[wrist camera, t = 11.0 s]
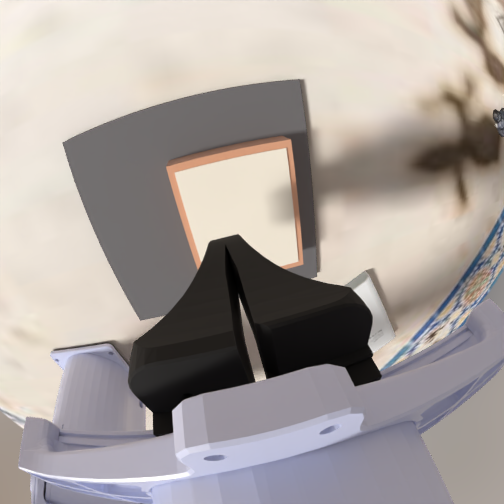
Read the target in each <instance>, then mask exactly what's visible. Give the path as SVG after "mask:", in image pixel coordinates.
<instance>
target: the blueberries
mask: <svg viewBox="0 0 504 504" xmlns="http://www.w3.org/2000/svg"><path fill="white" fill-rule="evenodd" d="M503 96H504V94H503ZM493 119H494V121H495V125H496V128H497V130H498V133H499V135H501V136H503V137H504V108H502V109H501V110H500V111H497V110H496V109H495V110H494V111H493Z"/></svg>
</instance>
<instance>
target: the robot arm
mask: <svg viewBox="0 0 504 504" xmlns="http://www.w3.org/2000/svg"><path fill="white" fill-rule="evenodd" d="M238 295H239V296H238ZM239 297H240V300H241V303H242V305H243V308H244V310H245V313H246V316H247V318H248V321H249V323H250V326H251V328H252V331H253V334H254V337H255V340H256V343H257V347H258V350H259V354H260V357H261V361H262V364H263V368H264V372H265V375H266V380H262V381H258V382H255V378H254V374H253V371H252V367H251V363H250V359H249V355H248V351H247V348H246V344H245V339H244V333H243V326H242V318H241V311H240V303H239ZM372 324H373V316H372V313H371V311H370V309H369V308H368V307H367V305H366V304H365V303H364V301H363V300H362V299H361V298H360V297H359V296H358V295H357V294H356V293H355V292H354V291H353V289H352V288H351V287H346V286H340V285H334V284H328V283H323V282H320V281H316V280H312V279H309V278H306V277H303V276H300V275H297V274H295V273H292V272H290V271H288V270H286V269H284V268H282V267H280V266H278V265H276V264H274V263H273V262H271V261H270V260H268V259H267V258H265V257H264V256H263V255H261V254H260V253H259V252H257V251H256V250H255V249H254V248H253V247H251V246H250V245H249V244H248V243H247V242H246V241H245V240H244V239H243V238H242V237H241V236H240V235H239V234H236V235H232V236H228V237H224V238H220V239H216V240H212V241H210V242H209V243H208V246H207V250H206V252H205V255H204V258H203V260H202V262H201V265H200V267H199V269H198V271H197V273H196V275H195V277H194V279H193V281H192V282H191V284H190V286H189V287H188V289H187V290H186V292H185V293H184V295H183V296H182V297H181V299H180V300H179V301H178V302H177V303H176V305H175V306H174V307H173V308H172V309H171V310H170V312H169V313H168V314H167V315H166V316H165V317H164V318H163V319H162V320H160V321H159V322H158V323H157V324H156V325H155V326H154V327H153V328H152V329H150V330H149V331H148V332H147V333H145V334H144V335H143V336H141V337H140V338H139V339H138V340H136V341H135V342H134V345H133V349H132V353H131V358H130V365H129V366H128V364H127V363H126V362H125V361H124V359H123V358H122V357H121V356H120V354H119V353H118V352H117V351H116V349H115V348H114V347H113V346H112V345H111V344H100V345H94V346H87V347H80V348H73V349H66V350H58V351H51V353H50V356H51V358H52V359H53V360H54V361H55V362H56V363H57V364H58V365H59V366H60V367H61V368H62V369H63V370H64V371H63V375H62V379H61V383H60V387H59V391H58V395H57V400H56V405H55V410H54V415H53V420H52V422H50V421H48V420H46V419H42V418H35V417H26V421H25V426H24V431H23V437H22V443H21V449H20V456H19V466H18V467H19V468H20V469H21V470H23V471H25V472H28V473H29V474H31V483H30V491H31V492H32V493H31V495H32V496H31V504H454V503H453V501H452V498H451V496H450V494H449V492H448V490H447V487H446V485H445V483H444V481H443V479H442V477H441V475H440V473H439V471H438V469H437V467H436V465H435V463H434V461H433V459H432V457H431V455H430V453H429V451H428V449H427V447H426V445H425V443H424V441H423V439H422V437H421V434H422V433H424V432H425V431H427V430H428V429H430V428H431V427H432V426H434V425H435V424H437V423H438V422H439V421H441V420H442V419H444V418H445V417H446V416H448V415H449V414H450V413H452V412H453V411H454V410H455V409H457V408H458V407H459V406H460V405H462V404H463V403H464V402H465V401H467V400H468V399H469V398H470V397H471V396H472V395H474V394H475V393H476V392H477V391H478V390H479V389H481V388H482V387H483V386H484V385H485V384H486V383H487V382H488V381H490V380H491V379H492V378H493V377H494V376H495V375H496V374H497V373H498V372H499V370H500V369H501V368H502V367H503V365H504V312H503V311H502V310H501V309H500V308H499V307H498V306H497V305H496V304H495V303H494V302H493V301H492V300H491V299H490V298H489V299H487V300H485V301H484V302H482V303H481V304H480V305H478V306H477V307H475V308H474V309H473V310H472V312H471V313H470V315H469V316H468V319H467V321H466V324H465V325H464V326H462V327H461V328H459V329H458V330H456V331H454V332H453V333H451V334H450V335H448V336H446V337H445V338H443V339H442V340H440V341H438V342H436V343H435V344H433V345H431V346H430V347H428V348H426V349H424V350H422V351H421V352H419V353H417V354H415V355H413V356H411V357H409V358H407V359H405V360H403V361H401V362H399V363H397V364H395V365H393V366H391V367H389V368H387V369H385V370H383V371H381V372H380V371H379V370H378V368H377V366H376V364H375V363H374V361H373V359H372V358H371V357H372V356H373V352H372V350H371V349H370V347H369V345H368V341H369V337H370V333H371V329H372ZM146 407H147V408H148V409H149V410H151V411H152V412H153V430H146Z"/></svg>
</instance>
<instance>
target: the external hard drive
mask: <svg viewBox="0 0 504 504" xmlns="http://www.w3.org/2000/svg"><path fill="white" fill-rule="evenodd" d="M345 286H346V287H351V288H352V289H353V291H354V292H355V293H356V294H357V295H358V296H359V297H360V298H361V299H362V300H363V301H364V303H365V304H366V305H367V307H368V308H369V309H370V311H371V313H372V316H373V324H372V329H371V333H370V337H369V341H368V345H369V347H370V349H371V350H372V352H373V353H374V352H376V351H377V350H379V349H380V348H382V347H383V346H384V345H386V344H387V343H389V342H390V341H391V340H393V339H394V337H395V333H394V330H393V328H392V325H391V323H390V320H389V318H388V315H387V313H386V311H385V308H384V306H383V304H382V301H381V299H380V297H379V295H378V293H377V290H376V288H375V286H374V284H373V282H372V280H371V278H370V276H369V274H368V273H367V272H366V271H364V272H362V273H361V274H360V275H358V276H357V277H356V278H354V279H353V280H352V281H350V282H349V283H348V284H346V285H345Z"/></svg>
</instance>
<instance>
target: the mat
mask: <svg viewBox="0 0 504 504" xmlns="http://www.w3.org/2000/svg"><path fill="white" fill-rule="evenodd" d="M277 136H284V137H286V138H289V139H291V143H292V151H293V159H294V167H295V176H296V185H297V195H298V205H299V215H300V226H301V238H302V251H303V265H300V266H296V267H292V268H288V269H286V270H288V271H290V272H292V273H295V274H297V275H300V276H303V277H306V278H309V279H311V278H314V277H317V260H316V237H315V219H314V203H313V190H312V178H311V167H310V157H309V148H308V139H307V130H306V122H305V114H304V107H303V100H302V93H301V86H300V80H287V81H276V82H267V83H259V84H252V85H245V86H239V87H233V88H227V89H222V90H217V91H212V92H207V93H203V94H198V95H194V96H190V97H186V98H182V99H178V100H174V101H171V102H167V103H164V104H160V105H157V106H154V107H150V108H147V109H144V110H141V111H138V112H135V113H132V114H129V115H126V116H124V117H121V118H118V119H116V120H113V121H110V122H108V123H105V124H103V125H100V126H98V127H96V128H93V129H91V130H89V131H86V132H84V133H82V134H80V135H77V136H75V137H73V138H71V139H69V140H67V141H65V142H63V146H64V149H65V153H66V156H67V159H68V162H69V166H70V169H71V172H72V175H73V178H74V180H75V183H76V186H77V189H78V192H79V194H80V197H81V200H82V202H83V205H84V207H85V210H86V212H87V215H88V217H89V220H90V222H91V224H92V227H93V229H94V231H95V234H96V236H97V238H98V240H99V243H100V245H101V247H102V249H103V251H104V253H105V256H106V258H107V260H108V262H109V264H110V266H111V268H112V270H113V272H114V274H115V276H116V278H117V280H118V281H119V283H120V285H121V287H122V289H123V291H124V293H125V295H126V296H127V298H128V300H129V302H130V304H131V305H132V307H133V309H134V311H135V312H136V314H137V316H138V317H139V319H140V321H141V320H145V319H150V318H155V317H159V316H164V315H167V314H168V313H169V312H170V310H171V309H172V308H173V307H174V306H175V305H176V303H177V302H178V301H179V300H180V299H181V297H182V296H183V295H184V293H185V292H186V290H187V289H188V287H189V286H190V284H191V282H192V281H193V279H194V277H195V275H196V273H197V271H198V269H197V266H196V263H195V260H194V257H193V254H192V251H191V248H190V245H189V242H188V239H187V236H186V233H185V230H184V226H183V223H182V220H181V217H180V214H179V210H178V207H177V204H176V200H175V197H174V194H173V190H172V187H171V183H170V180H169V176H168V173H167V169H166V166H167V163H168V161H169V160H173V159H176V158H180V157H183V156H187V155H191V154H195V153H199V152H203V151H207V150H211V149H216V148H220V147H224V146H229V145H234V144H238V143H243V142H249V141H254V140H259V139H265V138H271V137H277ZM238 296H239V295H238ZM239 298H240V297H239Z"/></svg>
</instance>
